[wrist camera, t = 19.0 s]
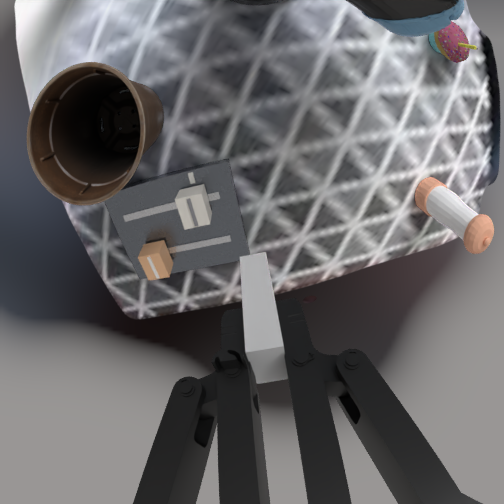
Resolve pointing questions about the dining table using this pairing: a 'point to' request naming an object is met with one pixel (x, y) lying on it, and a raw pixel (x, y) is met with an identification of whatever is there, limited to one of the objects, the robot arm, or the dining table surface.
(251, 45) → the dining table surface
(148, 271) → the fader
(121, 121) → the plant pot
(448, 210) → the pepper shaker
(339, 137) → the dining table surface
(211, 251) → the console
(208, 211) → the fader
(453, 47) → the cupcake
